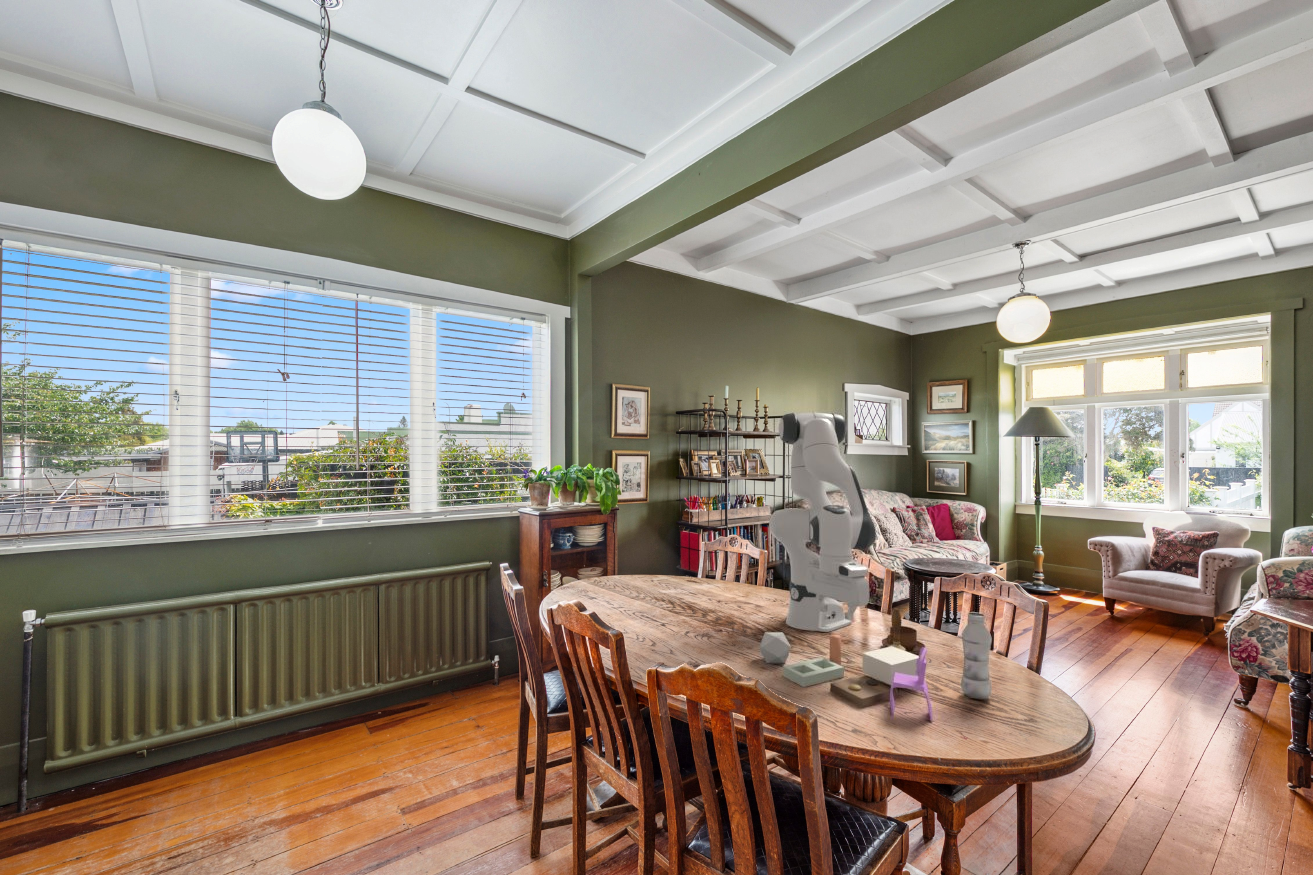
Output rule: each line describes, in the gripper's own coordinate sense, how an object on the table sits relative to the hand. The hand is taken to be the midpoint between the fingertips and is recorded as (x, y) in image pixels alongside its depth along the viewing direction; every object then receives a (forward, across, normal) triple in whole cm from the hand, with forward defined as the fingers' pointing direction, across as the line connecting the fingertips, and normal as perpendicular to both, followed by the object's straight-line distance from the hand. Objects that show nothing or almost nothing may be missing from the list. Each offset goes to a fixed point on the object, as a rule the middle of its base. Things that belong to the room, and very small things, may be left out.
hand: (835, 615), depth 162 cm
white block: (+11, +16, +3) cm, 20 cm away
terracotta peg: (+14, -1, 0) cm, 14 cm away
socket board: (+14, +2, -11) cm, 18 cm away
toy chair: (+15, +28, -6) cm, 32 cm away
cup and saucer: (+14, 0, +28) cm, 31 cm away
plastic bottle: (+14, +30, +15) cm, 37 cm away
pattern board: (+14, +16, -8) cm, 23 cm away
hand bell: (+14, +8, +14) cm, 22 cm away
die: (+14, -11, -13) cm, 22 cm away
